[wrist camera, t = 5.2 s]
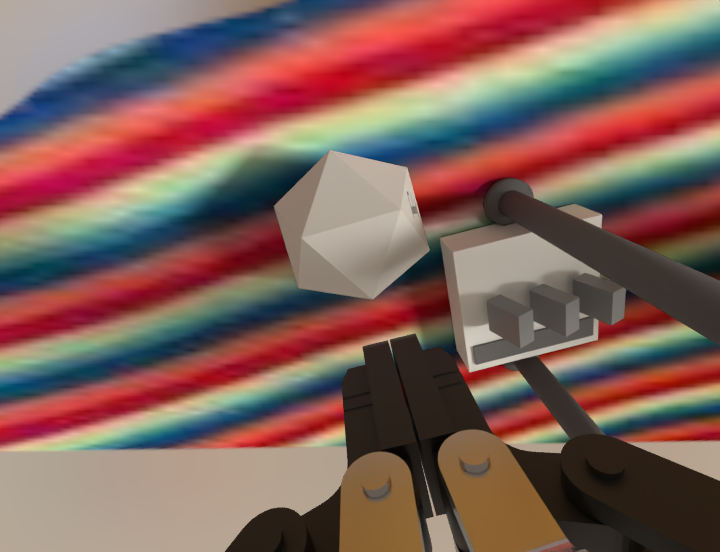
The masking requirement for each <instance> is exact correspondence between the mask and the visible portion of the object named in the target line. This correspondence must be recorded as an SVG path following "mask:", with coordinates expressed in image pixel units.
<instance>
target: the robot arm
mask: <svg viewBox="0 0 720 552" xmlns="http://www.w3.org/2000/svg"><path fill="white" fill-rule="evenodd" d="M390 343H391V348H392V352H393V356H394V361H395V364H394V361H393V357H392V354H391V350H390V346H389V343H388V340H387V341H383V342H379V343H375V344H371V345H367V346H363V352H364V358H365V364H366V365H363V366H359V367H355V368H351V369H348V370H347V373H346V375H345V377H344V379H343V382H342V395H343V408H344V421H345V434H346V446H347V459H348V468H347V471H346V473H345V474H344V476H343V479H342V483H341V486H340V487H339V489H338V490H337V491H336V492H335V494H334V495H333V496H331V497H330V498H329V499H328V500H327V501H325V502H324V503H322V504H321V505H319V506H317V507H316V508H314V509H312V510H311V511H309V512H307V513H305V514H304V515H302V516H300V515H299V514H298V513H297V512H295V511H294V510H291V509H289V508H273V509H270V510H267V511H265V512H263V513H261V514H259V515H257V516H256V517H255V518H253V519H252V520H251V521H250V522H249V523H248V524H247V525H246V526H245V527H244V528H243V529H242V531H241V532H240V533H239V535H238V536H237V537H236V538H235V540H234V541H233V542H232V543H231V545H230V546H229V547H228V548H227V550H226V551H225V552H432V545H431V539H430V535H429V531H428V527H427V523H426V518H430V517H433V512H432V507H431V503H430V499H429V494H428V490H427V485H426V481H425V477H426V480H427V484H428V487H429V491H430V494H431V498H432V501H433V505H434V508H435V512H436V515H437V516H438V515H442V514H447V518H448V521H449V524H450V527H451V531H452V534H453V539H454V544H455V549H456V552H720V481H718V480H716V479H714V478H711V477H709V476H706V475H704V474H702V473H699V472H697V471H694V470H692V469H689V468H687V467H684V466H682V465H679V464H677V463H675V462H672V461H670V460H667V459H665V458H663V457H660V456H658V455H655V454H653V453H650V452H648V451H646V450H643V449H641V448H638V447H636V446H633V445H631V444H629V443H626V442H624V441H621V440H619V439H616V438H613V437H610V436H606V435H600V434H585V435H580V436H577V437H574V438H572V439H571V440H569V441H568V442H567V443H566V444H565V445H564V447H563V449H562V451H561V453H544V452H529V451H524V450H519V449H516V448H514V447H511V446H509V445H507V444H505V443H504V442H503V441H502V440H501V439H499V438H498V437H496V436H495V435H494V434H493V433H492V431H491V430H490V428H489V426H488V425H487V423H486V421H485V419H484V417H483V415H482V413H481V411H480V409H479V407H478V405H477V403H476V401H475V399H474V398H473V396H472V394H471V392H470V390H469V388H468V386H467V384H466V383H465V380H464V378H463V376H462V374H461V372H460V371H459V369H458V367H457V365H456V363H455V361H454V359H453V357H452V356H451V355H450V354H448V353H447V352H445V351H444V350H443V349H441V348H440V347H436V348H432V349H428V350H424V351H422V348H421V346H420V343H419V341H418V339H417V336H416V334H411V335H407V336H403V337H399V338H395V339H391V340H390ZM395 365H396V368H395ZM396 369H397V371H396ZM397 374H398V375H397ZM421 462H422V463H421ZM422 466H423V468H422ZM423 469H424V472H423ZM424 473H425V477H424Z"/></svg>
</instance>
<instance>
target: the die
mask: <svg viewBox="0 0 720 552" xmlns="http://www.w3.org/2000/svg"><path fill="white" fill-rule="evenodd" d="M274 209H275V212H276V215H277V219H278V222H279V225H280V229H281V232H282V235H283V239H284V242H285V246H286V249H287V252H288V256H289V259H290V262H291V266H292V269H293V272H294V276H295V279H296V282H297V286H298V288H301V289H307V290H314V291H320V292H326V293H333V294H339V295H346V296H352V297H359V298H365V299H372V300H373V299H374V298H375V297H376V296H377V295H379V294H380V293H381V292H382V291H383V290H384V289H386V288H387V287H388V286H389V285H390V284H391V283H393V282H394V281H395V280H396V279H397V278H398V277H399V276H401V275H402V274H403V273H404V272H405V271H406V270H408V269H409V268H410V267H411V266H412V265H413V264H415V263H416V262H417V261H418V260H419V259H420V258H422V257H423V256H424V255H425V254H426V253H427V252H429V251H430V249H429V246H428V242H427V238H426V235H425V231H424V227H423V224H422V220H421V216H420V213H419V209H418V205H417V202H416V198H415V194H414V191H413V187H412V184H411V180H410V176H409V173H408V169H407V167H402V166H398V165H393V164H389V163H385V162H380V161H376V160H371V159H367V158H362V157H358V156H354V155H349V154H345V153H340V152H336V151H332V150H329V151H328V152H327V153H326V154H325V155H324V156H323V157H322V158H321V159H320V160H319V161H318V162H317V163H316V164H315V165H314V166H313V167H312V168H311V169H310V170H309V171H308V172H307V173H306V174H305V175H304V176H303V177H302V178H301V179H300V180H299V181H298V182H297V183H296V184H295V185H294V186H293V187H292V188H291V189H290V190H289V191H288V192H287V193H286V194H285V195H284V196H283V197H282V198H281V199H280V200H279V201H278V202H277V203H276V204H275V205H274Z"/></svg>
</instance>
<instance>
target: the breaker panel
mask: <svg viewBox="0 0 720 552" xmlns="http://www.w3.org/2000/svg"><path fill="white" fill-rule="evenodd" d="M557 209H559V210H561V211H564V212H566V213H568V214H570V215H573V216H575V217H577V218H579V219H582V220H584V221H586V222H588V223H591V224H593V225H595V226H597V227H600V228H602V214H599V213H597V212H594V211H592V210H589V209H587V208H584V207H582V206H579V205H577V204H571V205H567V206H563V207H559V208H557ZM440 243H441V249H442V256H443V263H444V269H445V276H446V282H447V289H448V296H449V302H450V309H451V316H452V322H453V329H454V336H455V342H456V349H457V351H458V353H459V355H460V356H461V358H462V360H463V362H464V363H465V365H466V367H467V369H468V370H469V372H473V371H477V370H481V369H485V368H489V367H493V366H496V365H500V364H504V363H508V362H512V361H516V360H520V359H524V358H528V357H532V356H536V355H540V354H544V353H548V352H552V351H556V350H560V349H563V348H567V347H571V346H575V345H579V344H583V343H587V342H591V341H595V340H598V320H597V319H595V318H592V317H590V316H587V315H585V314H583V313H580V312H579V330H577V331H575V332H574V333H572V334H570V335H568V336H567V337H565V336H563V335H561V334H559V333H557V332H555V331H553V330H551V329H549V328H547V327H545V326H543V325H540V324H538V323H536V322H534V321H533V323H534V341H533V342H531V343H529V344H527V345H526V346H524V347H522V348H519V347H517V346H515V345H514V344H512V343H510V342H508V341H507V340H505V339H503V338H502V337H500V336H498V335H496V334H495V333H493V332H491V331H490V330H489V322H488V312H487V302H486V301H488V300H489V299H491V298H493V297H495V296H497V295H499V294H500V295H503V296H505V297H507V298H509V299H511V300H514V301H516V302H518V303H520V304H522V305H525V306H527V307H529V308H530V291H529V290H531V289H533V288H535V287H537V286H539V285H540V284H542V283H543V284H545V285H548V286H550V287H553V288H556V289H558V290H561V291H564V292H566V293H569V294H572V295H573V279H574V278H576V277H578V276H580V275H582V274H583V273H588V274H591V275H594V276H597V277H600V273H599V272H597V271H595V270H594V269H592V268H590V267H589V266H587V265H585V264H584V263H582V262H580V261H579V260H577V259H575V258H574V257H572V256H570V255H569V254H567V253H565V252H564V251H562V250H561V249H559V248H557V247H556V246H554V245H552V244H551V243H549V242H547V241H546V240H544V239H542V238H541V237H539V236H537V235H536V234H534V233H532V232H531V231H529V230H527V229H526V228H524V227H522V226H521V225H519V224H517V223H514V224H510V225H506V226H503V225H499V224H497V223H496V224H492V225H488V226H484V227H480V228H477V229H473V230H469V231H465V232H461V233H457V234H453V235H449V236H445V237H441V238H440Z"/></svg>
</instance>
